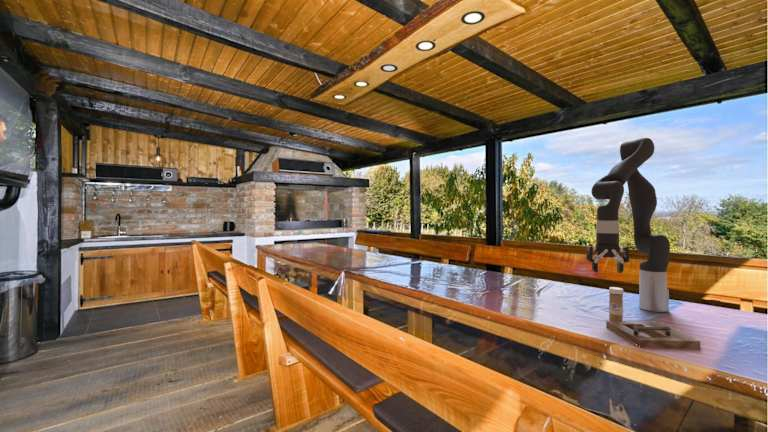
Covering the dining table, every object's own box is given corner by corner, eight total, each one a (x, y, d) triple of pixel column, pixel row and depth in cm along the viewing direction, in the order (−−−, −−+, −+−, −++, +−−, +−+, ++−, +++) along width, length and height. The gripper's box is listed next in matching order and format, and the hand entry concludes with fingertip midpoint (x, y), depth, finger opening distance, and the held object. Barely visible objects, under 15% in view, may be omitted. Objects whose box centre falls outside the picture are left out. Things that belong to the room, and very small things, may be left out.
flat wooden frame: (657, 328, 121) (657, 321, 121) (700, 348, 103) (700, 341, 103) (606, 327, 122) (606, 320, 122) (640, 347, 104) (640, 339, 104)
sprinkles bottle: (608, 322, 127) (608, 288, 127) (609, 319, 131) (609, 286, 130) (622, 325, 124) (622, 290, 124) (623, 321, 128) (623, 287, 128)
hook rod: (668, 334, 109) (668, 326, 109) (671, 335, 107) (671, 327, 107) (632, 333, 110) (632, 325, 110) (635, 334, 108) (635, 326, 108)
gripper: (622, 231, 131) (622, 271, 132) (583, 231, 134) (584, 270, 135) (632, 232, 124) (632, 274, 124) (591, 232, 127) (591, 273, 127)
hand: (607, 272), depth 129 cm, fingers open, 8 cm apart
